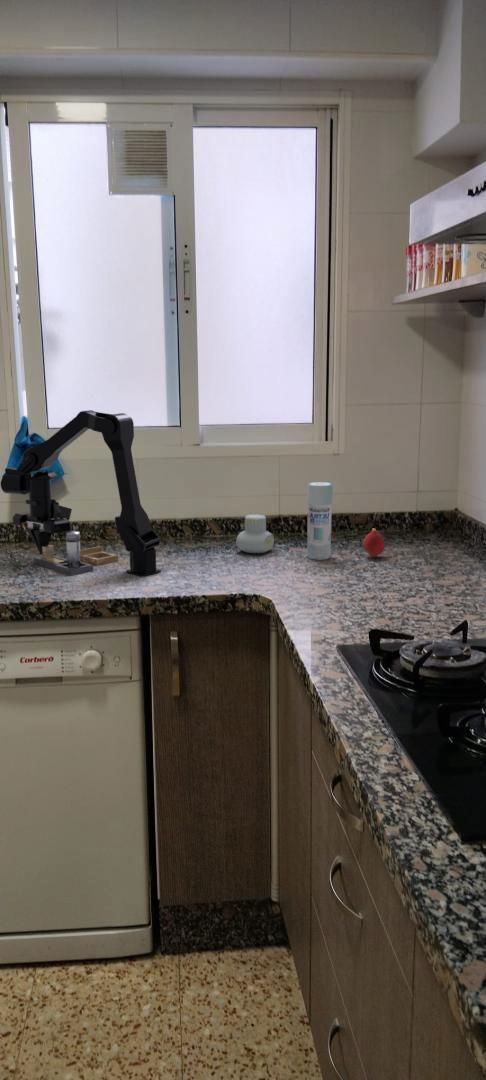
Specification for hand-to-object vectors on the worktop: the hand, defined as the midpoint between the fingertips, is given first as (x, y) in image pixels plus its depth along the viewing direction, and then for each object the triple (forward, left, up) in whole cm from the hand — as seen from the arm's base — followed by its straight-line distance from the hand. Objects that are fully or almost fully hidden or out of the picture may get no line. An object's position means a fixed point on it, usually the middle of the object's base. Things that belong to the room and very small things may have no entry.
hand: (43, 554), depth 231 cm
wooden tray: (-10, -11, -2) cm, 15 cm away
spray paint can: (-49, -55, -2) cm, 74 cm away
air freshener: (-32, -48, -2) cm, 58 cm away
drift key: (-5, 0, -2) cm, 5 cm away
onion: (-60, -65, -2) cm, 88 cm away
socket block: (-8, 0, -2) cm, 9 cm away
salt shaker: (-14, 0, -2) cm, 14 cm away
